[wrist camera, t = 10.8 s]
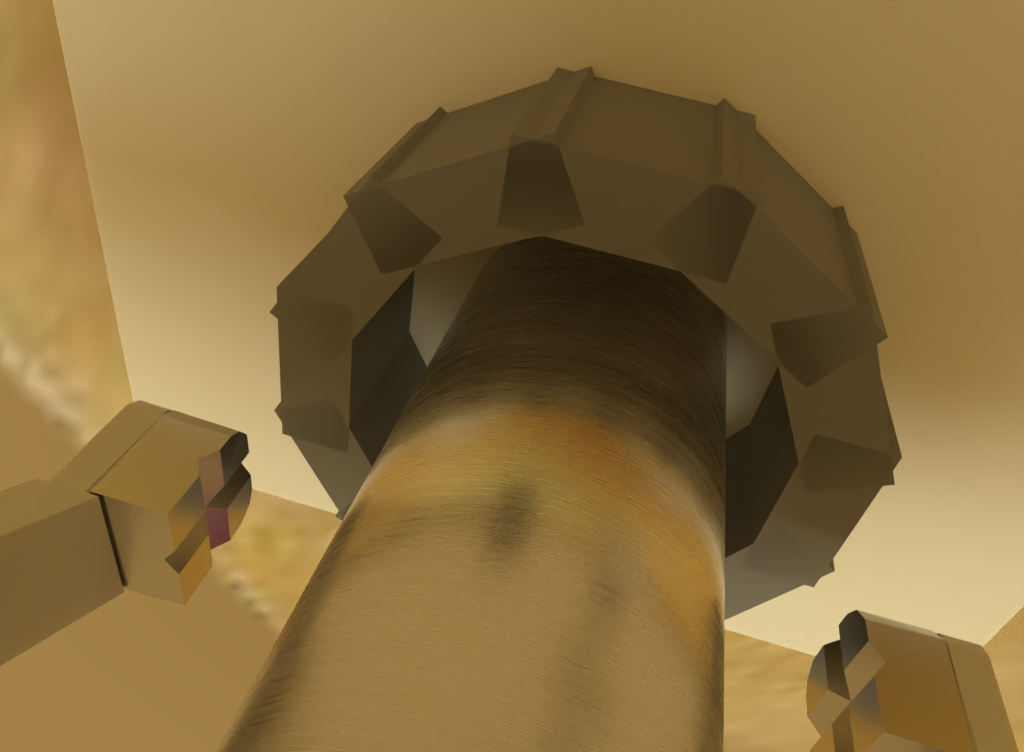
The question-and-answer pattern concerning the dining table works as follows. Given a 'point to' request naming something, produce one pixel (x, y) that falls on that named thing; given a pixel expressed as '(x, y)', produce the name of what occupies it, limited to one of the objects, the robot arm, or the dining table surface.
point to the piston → (528, 534)
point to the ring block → (598, 246)
